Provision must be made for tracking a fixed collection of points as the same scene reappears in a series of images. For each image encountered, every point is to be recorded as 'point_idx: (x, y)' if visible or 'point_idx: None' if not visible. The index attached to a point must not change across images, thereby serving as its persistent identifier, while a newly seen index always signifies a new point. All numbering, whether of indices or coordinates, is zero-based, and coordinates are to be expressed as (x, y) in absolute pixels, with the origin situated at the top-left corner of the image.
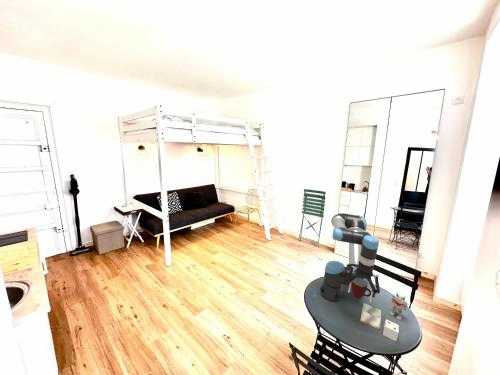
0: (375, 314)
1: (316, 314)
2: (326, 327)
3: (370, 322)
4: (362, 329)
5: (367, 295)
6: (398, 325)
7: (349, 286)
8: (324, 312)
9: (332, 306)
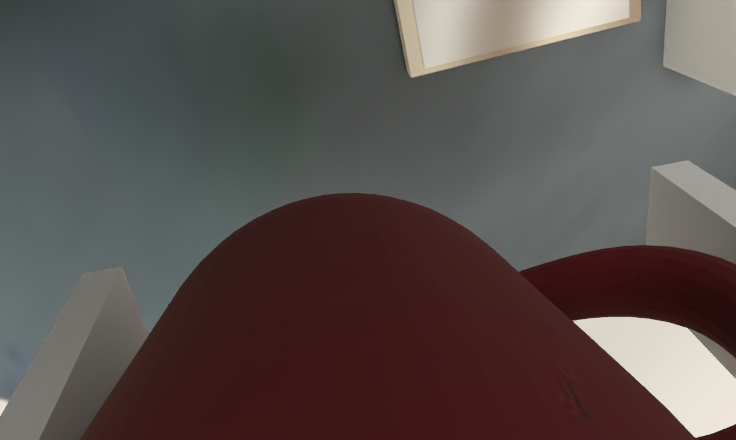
0: None
1: None
2: None
3: (526, 24)
4: (463, 180)
5: (637, 311)
6: None
7: None
8: (54, 304)
9: (36, 136)
